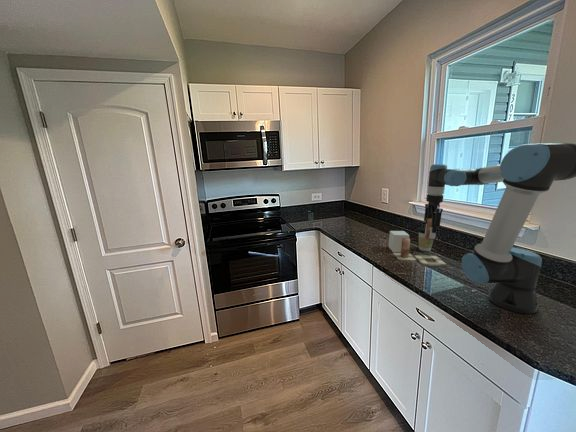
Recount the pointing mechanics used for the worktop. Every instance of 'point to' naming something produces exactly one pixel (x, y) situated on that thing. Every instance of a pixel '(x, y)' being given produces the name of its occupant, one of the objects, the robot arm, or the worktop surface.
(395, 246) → the block
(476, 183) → the robot arm
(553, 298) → the worktop surface
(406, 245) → the wooden post on base
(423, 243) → the coffee cup
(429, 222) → the peg
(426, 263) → the socket board
